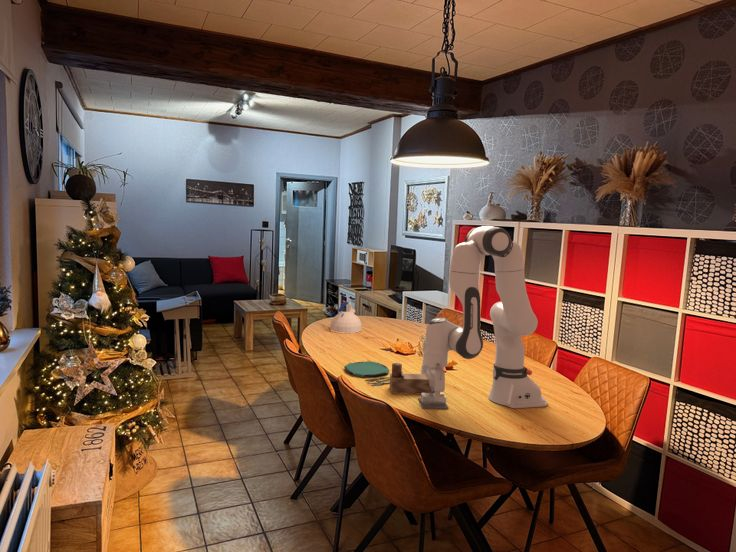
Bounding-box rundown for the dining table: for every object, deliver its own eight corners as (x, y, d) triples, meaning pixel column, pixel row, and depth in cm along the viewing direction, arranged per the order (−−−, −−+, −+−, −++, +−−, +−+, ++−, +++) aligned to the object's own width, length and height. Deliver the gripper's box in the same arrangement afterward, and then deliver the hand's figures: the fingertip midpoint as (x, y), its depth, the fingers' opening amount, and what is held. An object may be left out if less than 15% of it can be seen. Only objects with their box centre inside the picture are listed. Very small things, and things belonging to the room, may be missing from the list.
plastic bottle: (425, 373, 233) (427, 331, 230) (438, 376, 229) (440, 333, 226) (417, 376, 228) (419, 333, 226) (430, 379, 224) (432, 335, 221)
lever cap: (443, 400, 197) (443, 391, 196) (445, 404, 192) (446, 395, 192) (420, 400, 196) (421, 390, 196) (422, 404, 192) (423, 394, 191)
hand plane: (436, 388, 213) (438, 360, 211) (439, 393, 206) (441, 365, 205) (389, 387, 212) (390, 359, 210) (391, 393, 205) (392, 364, 203)
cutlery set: (376, 363, 246) (377, 359, 246) (406, 384, 219) (406, 378, 218) (338, 367, 238) (339, 363, 237) (364, 389, 211) (364, 384, 210)
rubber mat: (443, 399, 199) (443, 398, 199) (448, 409, 190) (448, 407, 190) (418, 399, 199) (418, 397, 199) (422, 408, 189) (422, 407, 189)
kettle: (367, 329, 321) (368, 301, 318) (353, 335, 302) (354, 306, 300) (339, 325, 329) (340, 298, 327) (323, 331, 310) (324, 302, 308)
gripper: (449, 368, 182) (448, 405, 184) (438, 353, 202) (437, 386, 204) (432, 368, 182) (430, 405, 183) (423, 353, 202) (421, 386, 204)
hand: (434, 395), depth 194 cm, fingers open, 8 cm apart
